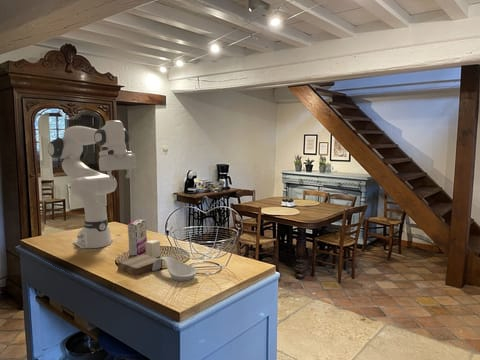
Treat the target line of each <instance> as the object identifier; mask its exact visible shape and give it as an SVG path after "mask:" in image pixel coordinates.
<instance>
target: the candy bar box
mask: <svg viewBox="0 0 480 360" xmlns="http://www.w3.org/2000/svg"><path fill="white" fill-rule="evenodd" d="M127 232H128V234H127V235H128V236H127V237H128V251H129V253H128V254H129V255H128V256H133V255H141V254H143V253H144V252H146V241H148V239H147V238H148V237H147V220H146V219H140V218H139V219H136V220H134V221H132V222H130V223H128V224H127Z"/></svg>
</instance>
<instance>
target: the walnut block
mask: <svg viewBox="0 0 480 360" xmlns="http://www.w3.org/2000/svg"><path fill="white" fill-rule="evenodd" d="M157 259H159V257H158V258H155V257H151V256H148V255H146V253H141V254H139V255H138V256H131V257H129V258H125V259H123V260H119V261H117V270H119V271H121V272H123V273H126V274H129V275H133V276H135V277H139V276H142V275H145V274H147V273H150V272H153V271H152V267H153V264H154V262H155V261H156V260H157ZM161 268H163V260H162V261H161Z"/></svg>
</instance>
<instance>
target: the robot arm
mask: <svg viewBox="0 0 480 360" xmlns="http://www.w3.org/2000/svg"><path fill="white" fill-rule="evenodd" d="M130 137H131V136H130V134H129V132H128V131H127V130H126V128H125V126H124V124H123V122H122V121H121V120H116V119H115V120H113V119H112V120H111V119H110V120H106V121H105V125H103V126H102V127H100V128H98V129H96V128H92V127H89V126H83V125H73V126H70V127H67V128H66V129H65V130H64V132H63V136H62V137H56V138H55V139H53V140H51V141H50V142H49V143H48V145H47V152H48V154H49V156H50V157H51V158H54V159H63V161H62V162H61V168H62V170H63V171H64V173H65V174H66V175H67V177H68V178H70V179H71V180H72V181H71V183H70V186H69V187H70V191H71V193H72V194H73V196H75V197H76V198H77V199H79V201H80V202H81V203H82V205H83V207H84V215H85V217H84V218H85V219H84V221H83V227H82V228H81V229H80V231H78V233H77V235H76V237H77V238H76V240H73V244H74V245H75V246H77V247H79V248H80V249H97V248H103V247H107V246H110V245H111V244H112V242H113V241H114V240H113V238H112V237H111V230H110V227H109V224H108V223H109V221H108V220H109V219H108V217H107V216H108V215H107V205H106V204H105V203H103V202H101V201H99V200H98V197H97V196H103V195H107V194H110V193H113V192H115V191H116V189H117V187H118V182H117V179H116V178H115V176H114V175H113V174H112V173H113V172H112V171H121V170H126V172H127V173H126V174H125V178H126V179H130V178H131V173H132V169H133V170H134V169H137V167H138V163H137V158H136V154H135V153H134V151H131V150H130V151H128V150H127V145H128V144H129V143H130V139H131V138H130ZM95 144H96V145H97V146H98V147H101V148H106V149H103V150H101V151H99V152H98V156H99V159H98V167H99V169H98V170H100V171H101V172H99V171H97V170H95V169H93V168H90V167H89V166H88V165H86V164H85V163H84V162H83V161H82V160H84V159H85V157H86V156H87V154H88V151H89V147H88V146H89V145H90V146H91V145H95ZM102 172H106V173H107V174H106V173H105V174H104V173H102Z"/></svg>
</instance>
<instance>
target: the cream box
mask: <svg viewBox="0 0 480 360" xmlns="http://www.w3.org/2000/svg"><path fill="white" fill-rule="evenodd" d="M145 255H148V256H151V257H155V258H156V257H158V258H160V257H161V241H160V240H156V239H151V240H147V241H146V250H145ZM159 256H160V257H159Z"/></svg>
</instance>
